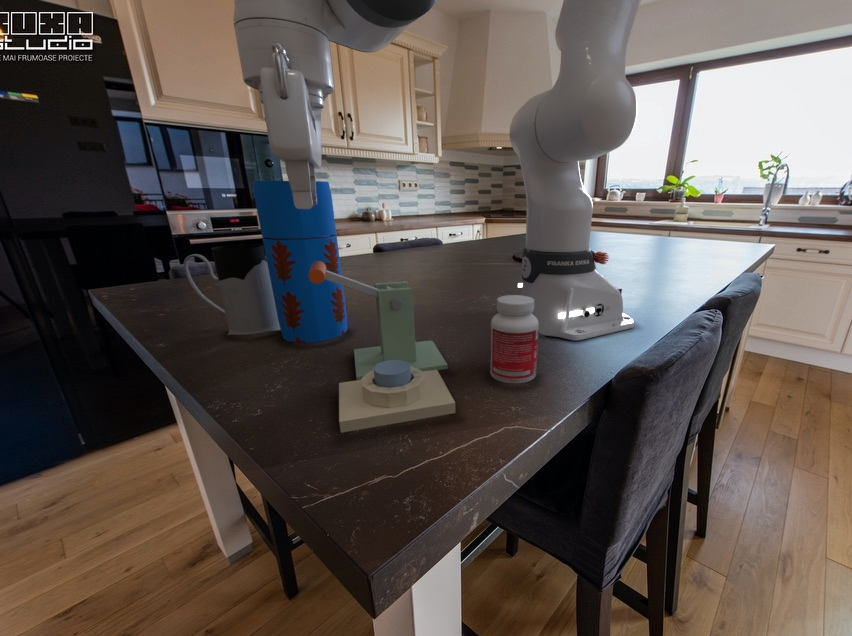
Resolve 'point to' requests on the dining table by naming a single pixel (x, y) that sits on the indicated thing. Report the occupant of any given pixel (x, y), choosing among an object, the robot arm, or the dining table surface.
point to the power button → (392, 373)
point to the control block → (392, 401)
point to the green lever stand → (397, 334)
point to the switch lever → (339, 279)
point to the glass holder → (242, 288)
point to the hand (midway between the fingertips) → (307, 207)
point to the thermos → (301, 261)
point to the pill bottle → (514, 340)
